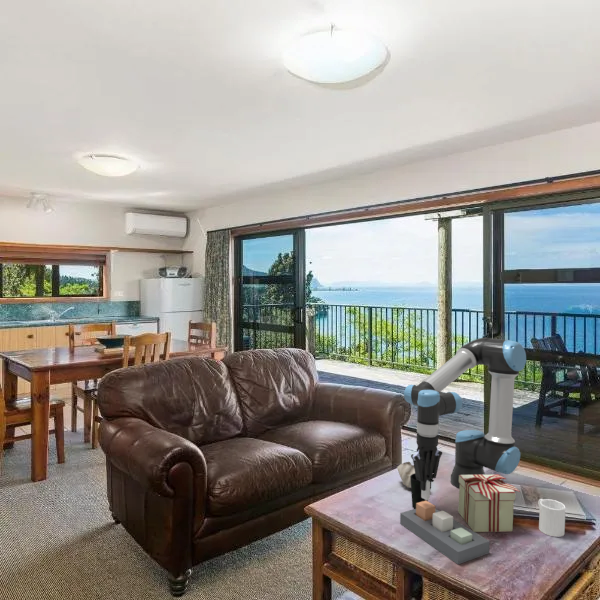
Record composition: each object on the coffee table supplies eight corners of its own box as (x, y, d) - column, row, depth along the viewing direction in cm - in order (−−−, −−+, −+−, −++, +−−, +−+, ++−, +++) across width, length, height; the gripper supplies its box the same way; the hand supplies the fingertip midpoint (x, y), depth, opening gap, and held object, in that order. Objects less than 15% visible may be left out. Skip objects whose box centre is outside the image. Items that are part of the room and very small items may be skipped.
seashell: (415, 479, 215) (415, 457, 215) (432, 494, 201) (433, 470, 200) (394, 481, 213) (394, 459, 212) (410, 496, 198) (410, 473, 198)
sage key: (460, 541, 163) (461, 527, 163) (471, 549, 159) (472, 534, 158) (450, 545, 161) (450, 530, 160) (461, 552, 157) (461, 537, 156)
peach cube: (425, 513, 178) (426, 500, 178) (435, 519, 174) (435, 506, 173) (415, 516, 176) (416, 503, 175) (425, 522, 171) (425, 508, 171)
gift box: (479, 539, 167) (481, 490, 166) (454, 513, 185) (455, 469, 184) (524, 535, 169) (526, 487, 168) (495, 510, 188) (496, 466, 187)
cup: (430, 513, 185) (431, 482, 184) (409, 510, 186) (410, 480, 186) (429, 503, 192) (429, 474, 192) (409, 501, 194) (410, 472, 193)
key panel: (429, 515, 183) (429, 504, 183) (489, 553, 158) (489, 541, 158) (400, 523, 176) (400, 512, 176) (457, 564, 152) (458, 552, 151)
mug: (548, 519, 181) (549, 493, 180) (569, 536, 169) (570, 509, 168) (527, 520, 180) (528, 494, 179) (548, 537, 168) (549, 510, 167)
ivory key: (442, 524, 170) (443, 510, 170) (452, 530, 166) (453, 516, 166) (432, 527, 168) (432, 513, 168) (442, 534, 164) (442, 519, 164)
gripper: (433, 428, 179) (431, 490, 180) (406, 433, 173) (404, 497, 174) (448, 434, 173) (446, 499, 174) (420, 439, 167) (418, 506, 168)
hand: (425, 498), depth 174 cm, fingers closed
